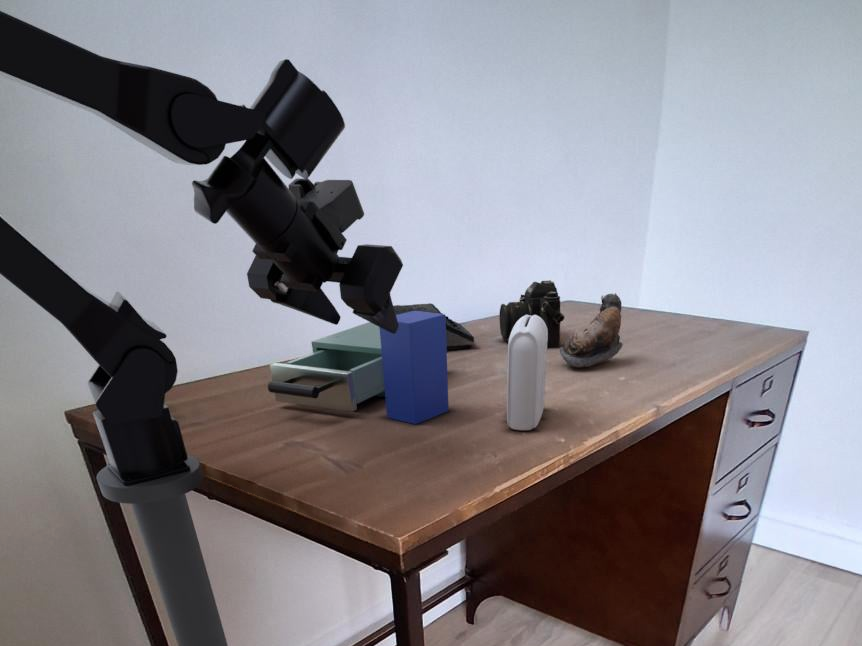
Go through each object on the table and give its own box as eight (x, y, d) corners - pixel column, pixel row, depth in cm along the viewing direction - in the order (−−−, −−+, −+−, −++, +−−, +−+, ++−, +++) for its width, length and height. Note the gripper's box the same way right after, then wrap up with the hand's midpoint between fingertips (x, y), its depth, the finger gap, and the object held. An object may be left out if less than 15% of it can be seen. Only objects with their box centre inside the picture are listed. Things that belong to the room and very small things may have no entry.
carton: (415, 424, 86) (409, 323, 79) (386, 417, 88) (378, 319, 81) (448, 411, 91) (445, 314, 84) (420, 404, 93) (415, 310, 86)
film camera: (479, 335, 131) (479, 277, 125) (534, 328, 135) (536, 273, 129) (525, 353, 118) (527, 290, 112) (584, 346, 122) (588, 285, 116)
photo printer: (515, 407, 92) (517, 308, 85) (546, 408, 91) (551, 309, 84) (503, 431, 84) (504, 323, 76) (537, 433, 83) (542, 324, 76)
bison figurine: (583, 374, 106) (589, 304, 100) (549, 366, 110) (553, 299, 104) (627, 361, 113) (635, 295, 107) (594, 354, 117) (599, 290, 111)
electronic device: (475, 349, 121) (475, 312, 117) (379, 355, 117) (376, 316, 114) (460, 336, 130) (460, 300, 126) (371, 340, 126) (368, 304, 123)
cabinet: (396, 398, 95) (392, 349, 92) (317, 388, 100) (311, 341, 96) (445, 373, 107) (443, 328, 103) (372, 365, 112) (368, 322, 108)
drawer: (333, 421, 84) (328, 381, 82) (255, 409, 89) (248, 372, 86) (406, 384, 98) (404, 349, 95) (336, 376, 102) (331, 342, 100)
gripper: (381, 143, 60) (458, 270, 73) (247, 146, 68) (338, 259, 82) (328, 252, 59) (416, 359, 73) (200, 241, 68) (300, 339, 82)
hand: (366, 325), depth 77 cm, fingers open, 9 cm apart
